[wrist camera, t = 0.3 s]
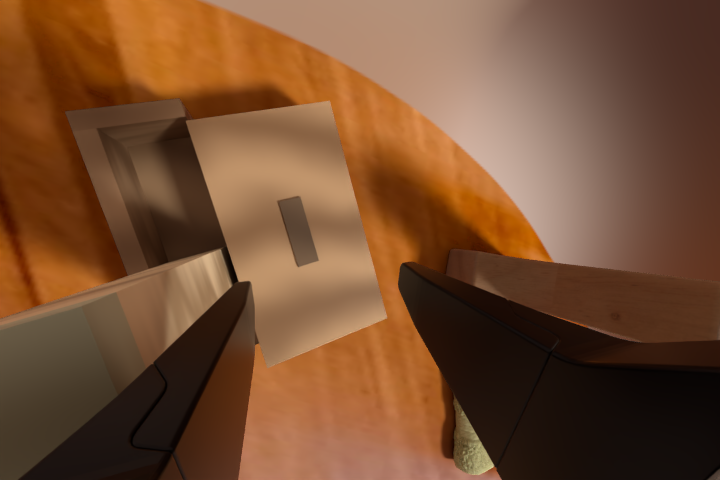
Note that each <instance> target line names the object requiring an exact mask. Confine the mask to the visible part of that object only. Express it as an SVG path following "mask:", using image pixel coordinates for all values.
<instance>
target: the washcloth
mask: <svg viewBox="0 0 720 480" xmlns="http://www.w3.org/2000/svg"><path fill="white" fill-rule="evenodd" d="M453 405H454V409H455V410H456V427H455V431H454V439H455V441H454V444H455V446H454V452H453V454H454V462H455V465H456V467H457V468H459V469H460V470H462V471H464V472H466V473H468V474H472V475H479V474H481V473H484V472H486V471H488V470H489V469H491V468H492V467H494V464H493V463H492V461H491V459H490V457H489V456H488V454H487V452H486V450H485V449H484V447H483V445H482V443H481V442H480V440H479V438H478V436H477V435H476V433H475V431H474V429H473V428H472V426H471V424H470V422H469V420H468V419H467V417H466V415H465V413H464V412H463V410H462V408H461V406H460V405H459V403H458V401H457V399H456V398H455V396H454V401H453Z"/></svg>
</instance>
